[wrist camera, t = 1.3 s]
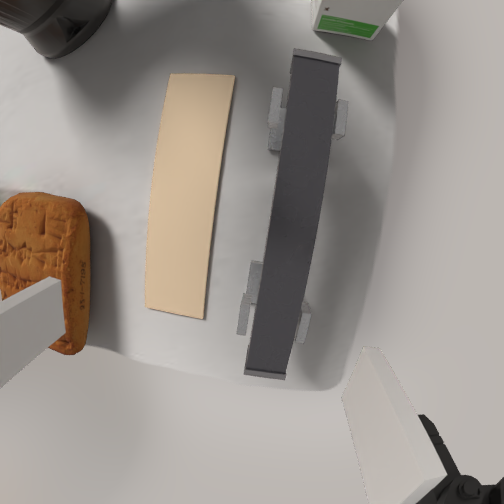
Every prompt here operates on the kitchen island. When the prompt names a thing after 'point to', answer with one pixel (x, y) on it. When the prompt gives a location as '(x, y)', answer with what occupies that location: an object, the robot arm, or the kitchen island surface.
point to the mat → (185, 191)
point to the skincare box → (352, 16)
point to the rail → (294, 211)
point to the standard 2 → (278, 118)
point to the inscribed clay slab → (48, 256)
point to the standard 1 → (252, 298)
